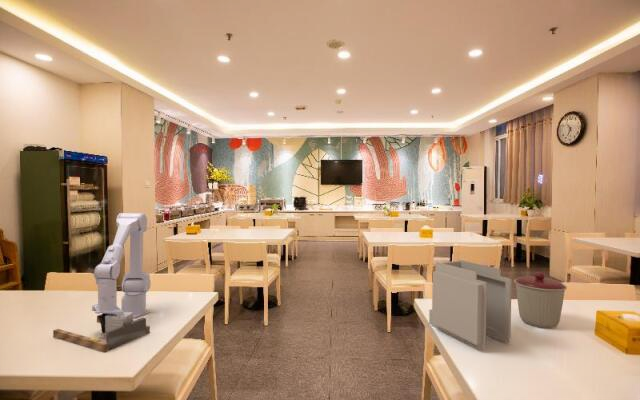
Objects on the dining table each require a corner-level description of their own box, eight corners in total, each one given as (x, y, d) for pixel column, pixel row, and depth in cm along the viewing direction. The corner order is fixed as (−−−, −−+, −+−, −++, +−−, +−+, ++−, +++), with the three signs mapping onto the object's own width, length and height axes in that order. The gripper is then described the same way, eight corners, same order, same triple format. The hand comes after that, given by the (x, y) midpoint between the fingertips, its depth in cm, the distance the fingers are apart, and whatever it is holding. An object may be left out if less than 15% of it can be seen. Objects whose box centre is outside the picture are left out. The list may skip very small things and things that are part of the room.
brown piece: (53, 337, 120) (53, 317, 119) (100, 320, 135) (100, 303, 135) (105, 352, 108) (105, 330, 108) (150, 332, 124) (150, 313, 124)
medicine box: (133, 335, 122) (133, 312, 121) (125, 340, 117) (125, 316, 117) (113, 334, 122) (113, 311, 122) (104, 339, 118) (104, 315, 118)
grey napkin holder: (454, 318, 141) (455, 257, 141) (514, 344, 117) (515, 270, 116) (423, 325, 134) (423, 260, 133) (479, 354, 110) (480, 275, 109)
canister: (560, 319, 141) (561, 270, 141) (571, 335, 125) (572, 279, 124) (511, 312, 149) (512, 265, 148) (515, 327, 132) (516, 274, 132)
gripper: (83, 296, 120) (83, 333, 121) (109, 302, 114) (110, 341, 115) (102, 290, 126) (103, 326, 127) (128, 296, 121) (129, 333, 121)
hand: (107, 332), depth 121 cm, fingers closed, pressing on medicine box
